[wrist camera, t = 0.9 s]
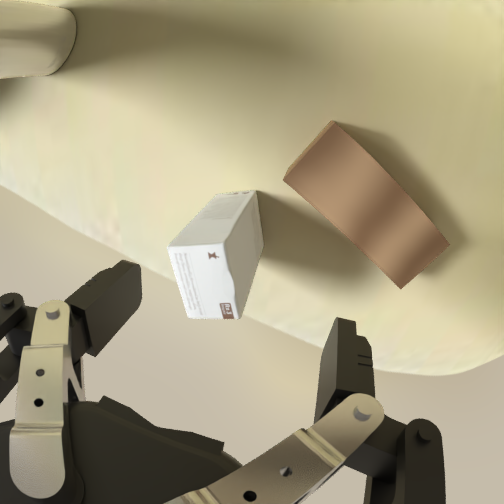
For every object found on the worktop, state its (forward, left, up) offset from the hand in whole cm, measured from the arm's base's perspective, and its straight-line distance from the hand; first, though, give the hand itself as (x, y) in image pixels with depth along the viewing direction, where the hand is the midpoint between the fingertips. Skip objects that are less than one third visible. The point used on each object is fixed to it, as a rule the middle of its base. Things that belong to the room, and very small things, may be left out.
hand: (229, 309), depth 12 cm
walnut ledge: (+6, +5, -19) cm, 21 cm away
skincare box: (-1, -5, -19) cm, 20 cm away
